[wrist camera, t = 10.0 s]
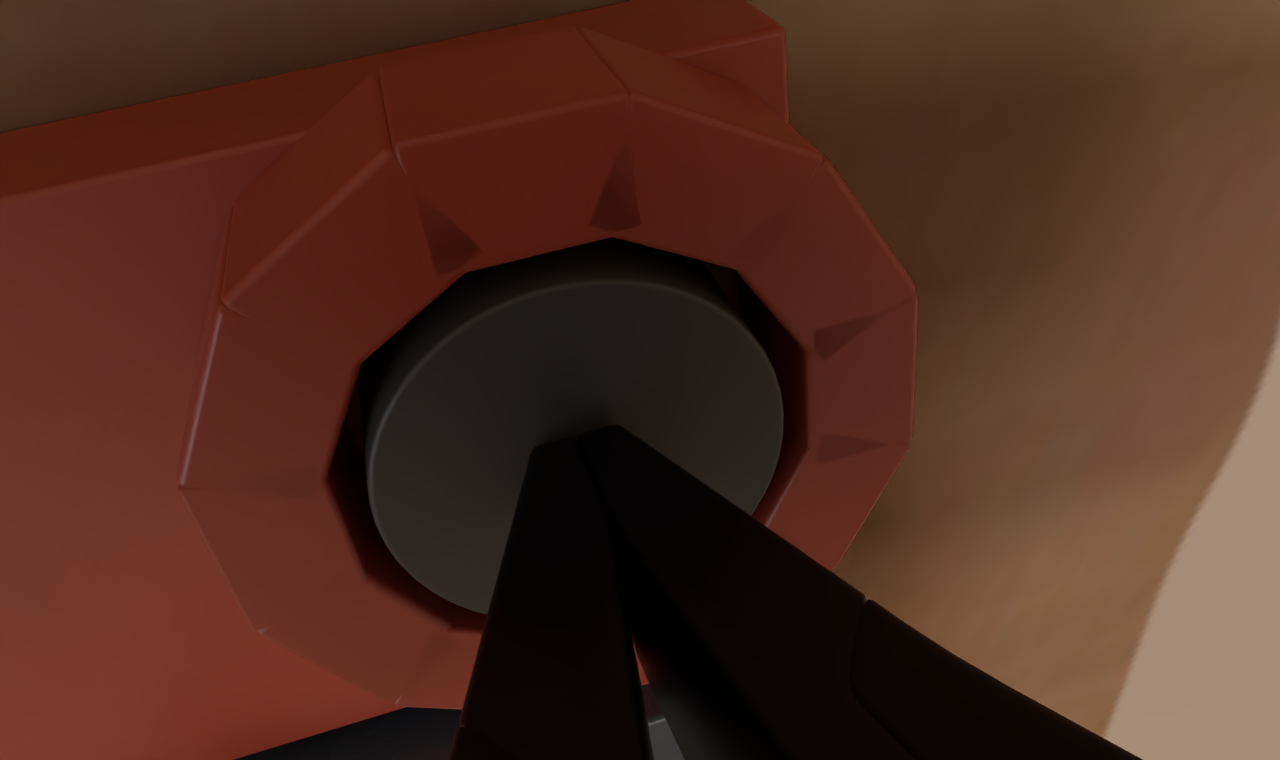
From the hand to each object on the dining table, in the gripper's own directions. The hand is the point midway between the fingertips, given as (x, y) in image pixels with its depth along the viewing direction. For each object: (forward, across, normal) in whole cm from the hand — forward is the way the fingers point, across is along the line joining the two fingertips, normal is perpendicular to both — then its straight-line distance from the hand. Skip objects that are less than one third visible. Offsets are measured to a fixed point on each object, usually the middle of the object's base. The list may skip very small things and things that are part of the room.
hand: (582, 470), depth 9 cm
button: (+2, 0, 0) cm, 2 cm away
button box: (+4, +3, +1) cm, 5 cm away
